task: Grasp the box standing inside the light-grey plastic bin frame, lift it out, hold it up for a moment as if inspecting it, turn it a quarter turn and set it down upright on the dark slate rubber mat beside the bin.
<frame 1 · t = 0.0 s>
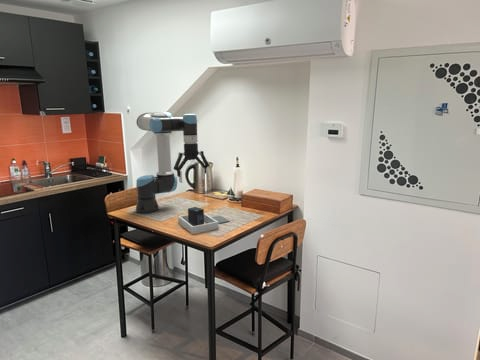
hand: (192, 180, 193), 28 cm above the table, fingers open, 13 cm apart
mat: (217, 220, 212), on the table
box: (196, 226, 203), resting in bin
bin: (197, 225, 204), on the table
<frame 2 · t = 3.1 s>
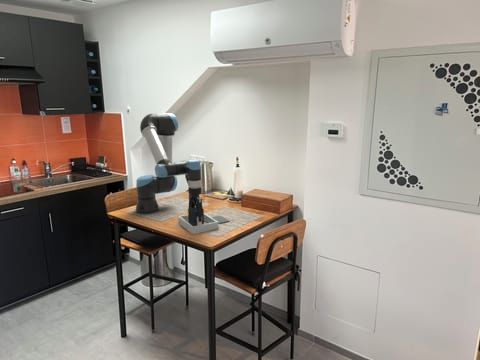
hand: (196, 224, 203), 1 cm above the table, fingers closed on box, 9 cm apart
box: (196, 226, 203), resting in bin, touching gripper
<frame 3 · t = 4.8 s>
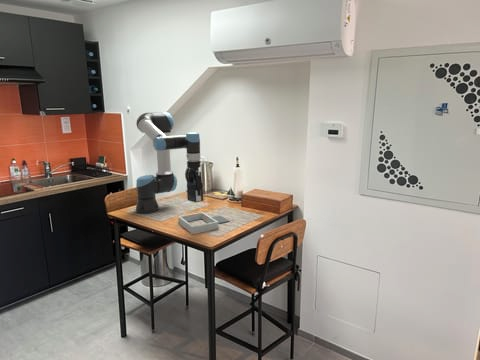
hand: (195, 199, 200), 16 cm above the table, fingers closed on box, 9 cm apart
box: (195, 200, 200), point 15 cm above the table, touching gripper
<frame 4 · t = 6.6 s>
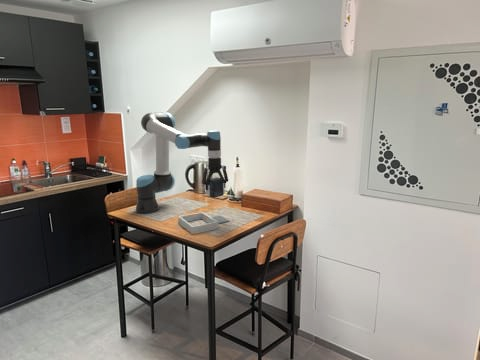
hand: (215, 194, 208), 17 cm above the table, fingers closed on box, 9 cm apart
box: (215, 196, 208), point 15 cm above the table, touching gripper
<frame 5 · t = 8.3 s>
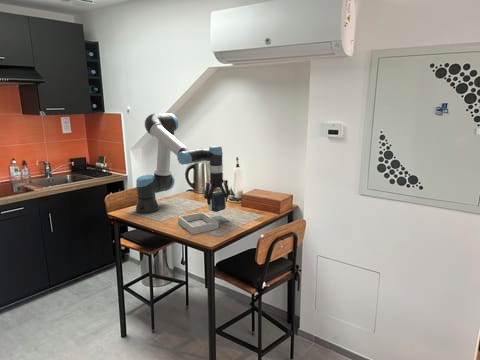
hand: (217, 208, 211), 8 cm above the table, fingers closed on box, 9 cm apart
box: (217, 210, 211), point 6 cm above the table, touching gripper
when the fingers open (3 cm above the table, at t = 10.0 s): box drops 2 cm, resting on mat.
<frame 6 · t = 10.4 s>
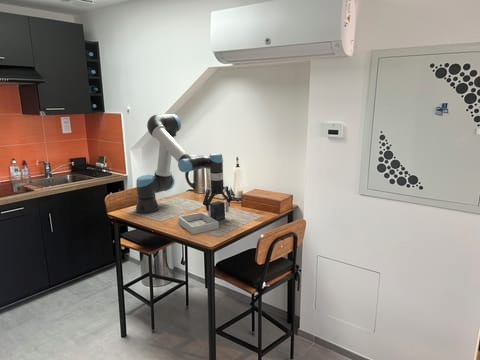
hand: (218, 213, 212), 4 cm above the table, fingers open, 12 cm apart
box: (217, 219, 212), resting on mat
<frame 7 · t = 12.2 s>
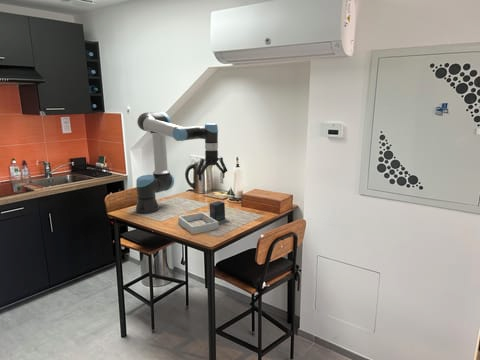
hand: (211, 184, 211), 22 cm above the table, fingers open, 13 cm apart
nothing on the table moved.
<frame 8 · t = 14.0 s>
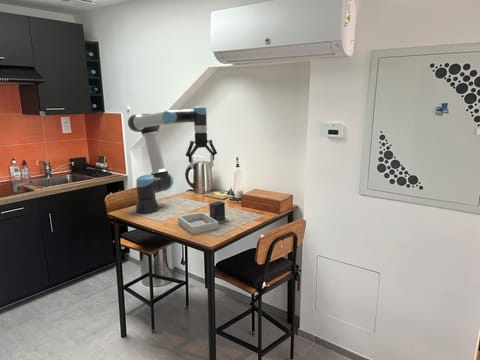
hand: (202, 166, 216), 32 cm above the table, fingers open, 13 cm apart
nothing on the table moved.
at the end: box inside the target area (0.1 cm from its centre), resting on mat; box tilted 0°; the gripper is holding nothing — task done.
